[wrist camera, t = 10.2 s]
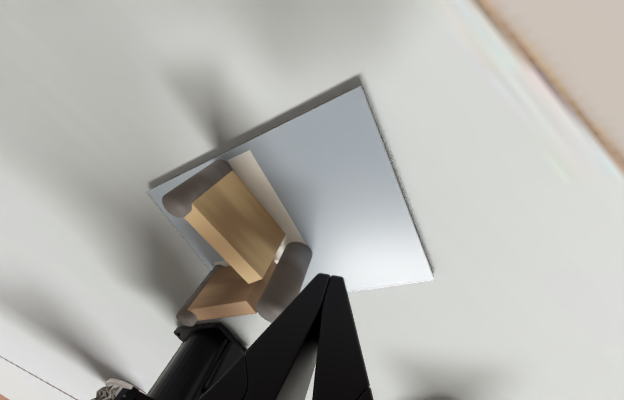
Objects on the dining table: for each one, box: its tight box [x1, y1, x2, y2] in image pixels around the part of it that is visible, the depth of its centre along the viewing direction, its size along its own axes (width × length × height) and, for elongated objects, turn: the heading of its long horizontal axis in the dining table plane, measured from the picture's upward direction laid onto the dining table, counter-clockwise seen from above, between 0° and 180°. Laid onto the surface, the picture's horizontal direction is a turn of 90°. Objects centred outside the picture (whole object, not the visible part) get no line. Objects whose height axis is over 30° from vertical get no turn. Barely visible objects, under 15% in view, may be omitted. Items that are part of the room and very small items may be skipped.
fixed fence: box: [176, 242, 312, 327], centre depth 16 cm, size 8×2×5 cm, turn 117°
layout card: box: [146, 85, 434, 292], centre depth 16 cm, size 15×11×1 cm
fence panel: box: [162, 159, 286, 284], centre depth 13 cm, size 6×1×4 cm, turn 36°
